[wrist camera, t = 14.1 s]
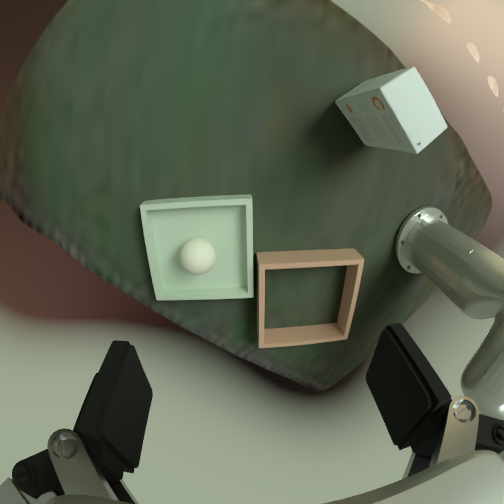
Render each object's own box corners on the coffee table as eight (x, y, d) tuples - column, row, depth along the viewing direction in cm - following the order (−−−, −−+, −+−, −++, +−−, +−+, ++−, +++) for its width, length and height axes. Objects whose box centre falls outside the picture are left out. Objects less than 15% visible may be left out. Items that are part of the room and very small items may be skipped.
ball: (216, 232, 38) (212, 246, 34) (218, 264, 40) (215, 281, 36) (181, 233, 38) (173, 247, 33) (185, 264, 40) (178, 281, 36)
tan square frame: (354, 248, 41) (364, 259, 38) (340, 325, 48) (347, 339, 44) (256, 252, 41) (258, 264, 37) (256, 332, 47) (258, 348, 43)
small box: (392, 124, 34) (449, 128, 22) (364, 146, 35) (417, 156, 23) (363, 80, 31) (415, 64, 19) (332, 100, 32) (378, 88, 20)
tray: (250, 194, 37) (252, 198, 35) (252, 288, 43) (253, 297, 41) (145, 200, 36) (139, 205, 34) (159, 291, 42) (156, 300, 40)
